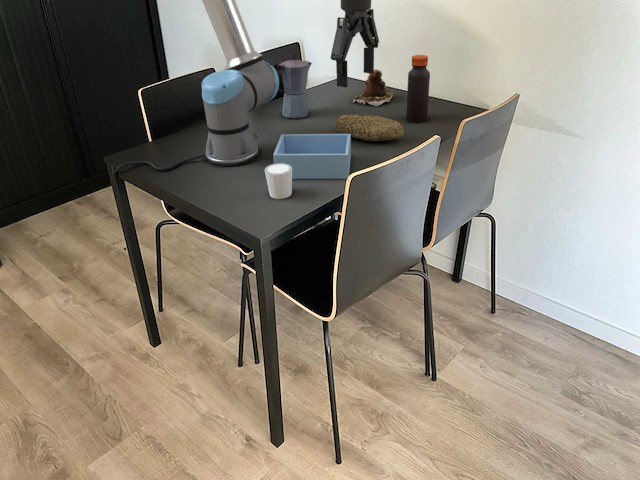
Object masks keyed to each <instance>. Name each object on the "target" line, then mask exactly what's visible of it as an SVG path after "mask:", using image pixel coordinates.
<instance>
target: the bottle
mask: <svg viewBox="0 0 640 480" xmlns="http://www.w3.org/2000/svg"><path fill="white" fill-rule="evenodd" d="M428 63H429V56H428V55H425V54H416V55H412V56H411V67H412V68H411V69H410V70H409V71H408V73H407V95H406V96H407V97H406V98H407V99H406V116H405V117H406V120H407V121H408V122H411V123H423V122H426V121H427V120H428V115H429V114H428V112H429V97H430V83H431V82H430V79H431V72H430V71H429V69H427V67H428Z"/></svg>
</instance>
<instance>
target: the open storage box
mask: <svg viewBox="0 0 640 480" xmlns="http://www.w3.org/2000/svg"><path fill="white" fill-rule="evenodd" d="M272 157H273V164H277V163H285V164H289V165H290V166H291V167H292V180H293V179H295V180H299V179H300V180H302V179H304V180H309V179H311V180H313V179H315V180H316V179H317V180H318V179H319V180H322V179H324V180H325V179H326V180H329V179H330V180H331V179H333V180H334V179H335V180H336V179H338V180H339V179H340V180H342V179H345V180H346V179H347V177H348V176H349V177H350V171H351V170H350V169H351V159H352V137H351V134H340V133H290V134H287V133H286V134H281V135H280V137H279V139H278V141H277V144H276V147H275V149H274V152H273V154H272ZM347 180H348V179H347Z"/></svg>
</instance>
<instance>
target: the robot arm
mask: <svg viewBox="0 0 640 480" xmlns="http://www.w3.org/2000/svg"><path fill="white" fill-rule="evenodd" d="M201 1H202V4H203V6H204V8H205V11H206V13H207V15H208V18H209V21H210V23H211V25H212V26H211V27H213V31H214V33H215V35H216V37H217V40H218V43H219V45H220V47H221V50H222V53H223V55H224V58H225V59H226V64H225V67H224V69H222V70H220V71H215V72H212V73H209V75H207V76H205V77H204V79H203V80H202V81H201V98H202V101H203V107H204V114H205V119H206V125H207V131H208V135H207V139H206V146H205V152H204V153H202V154H198V155H195V156H190V157H188V158H184V159H182V160H179V161H177V162H175V163H173V164H171V165H169V166H165V167H158V166H157V165H155V164H154V163H153V162H151V161H148V160H141V161H140V160H138V161H129V162H125V163H123V164H121V165H118V166H117V167H115V169H114V170H113V171H112V173H111V175H112V176H114V175H116V174H117V172H119V171H120V170H121V169H123V168H124V167H128V166H133V165H149V166H151V168H153V169H155V170H156V171H168V170H171V169H174V168H176V167H177V166H180V165H181V164H183V163H188V162H190V161H194V160H197V159H200V158H201V159H202V158H204V157H205V159H206V161H207V162H208V163H209V164H212V165H215V166H221V167H232V166H233V167H234V166H239V165H244V164H247V163H250V162H252V161H253V160H255V159H256V158H257V157H258V156H259V147H258V144H257V141H256V140H258V135H257V134H256V132H254V131H253V133H252V132H251V129H250V122H249V113H251V112H252V111H254V110H256V109H258V108H260V107H263V106H264V105H267V104H268V103H269V102H271V101H272V100H273V99H274V98H275V97H276V96H277V94H278V93H277V91H278V89H279V90H280V78H279V74H278V72H277V70H275V68H274V67H273V66H274V65H271V64H270V63H269V62H267V61H265V59H264V57H263V54H262V53H260V52H258V51H257V50H255V48H254V46H253V43H252V40H251V38H250V36H249V32H248V30H247V27H246V25H245V22H244V20H243V17H242V15H241V12H240V10H239V8H238V4H237V2H236V0H201ZM340 9H341V11H343V12H344V17H339V16H338V17H337V19H336V30H335V34H334V38H333V43H332V48H331V53H330V60H332V61H335V65H336V69H335V70H336V71H335V72H336V86H337V87H340V88H348V60H346V59H347V55H348V53H349V50H350V48H351V44H352V42H353V39H354V37H356V35H357V34H358V33H359V35H360V37H361V40H362V41H363V43H364V46H365V47H363V73H364V74H373V73H374V70H375V49H378V48H379V44H380V43H379V42H380V39H379V34H378V29H377V26H376V22H375V17H374V14H375V13H374V8H372V0H340ZM255 139H256V140H255ZM123 251H127V247H123Z"/></svg>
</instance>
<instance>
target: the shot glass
mask: <svg viewBox="0 0 640 480" xmlns="http://www.w3.org/2000/svg"><path fill="white" fill-rule="evenodd" d="M264 173H265V178H266V184H267V190H268V194H269V197H270V198H272V199H275V200H283V199H286V198H289V197H290V196H292V193H293V179H292V167H291V166H290V165H289V164H285V163H277V164H274V163H272V164H269V165H267V166H266V167H265V168H264Z"/></svg>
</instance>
